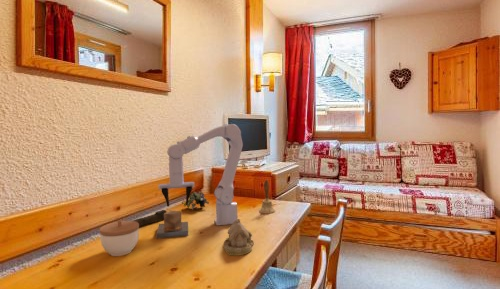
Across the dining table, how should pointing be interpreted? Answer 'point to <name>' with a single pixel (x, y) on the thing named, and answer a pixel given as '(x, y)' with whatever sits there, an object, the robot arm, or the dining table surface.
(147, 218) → the hand tool
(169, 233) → the grey square picture frame
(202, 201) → the green leafy plant
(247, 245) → the ceramic model
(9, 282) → the dining table surface
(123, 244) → the lidded bowl
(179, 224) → the taupe wooden cube
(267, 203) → the hand bell
